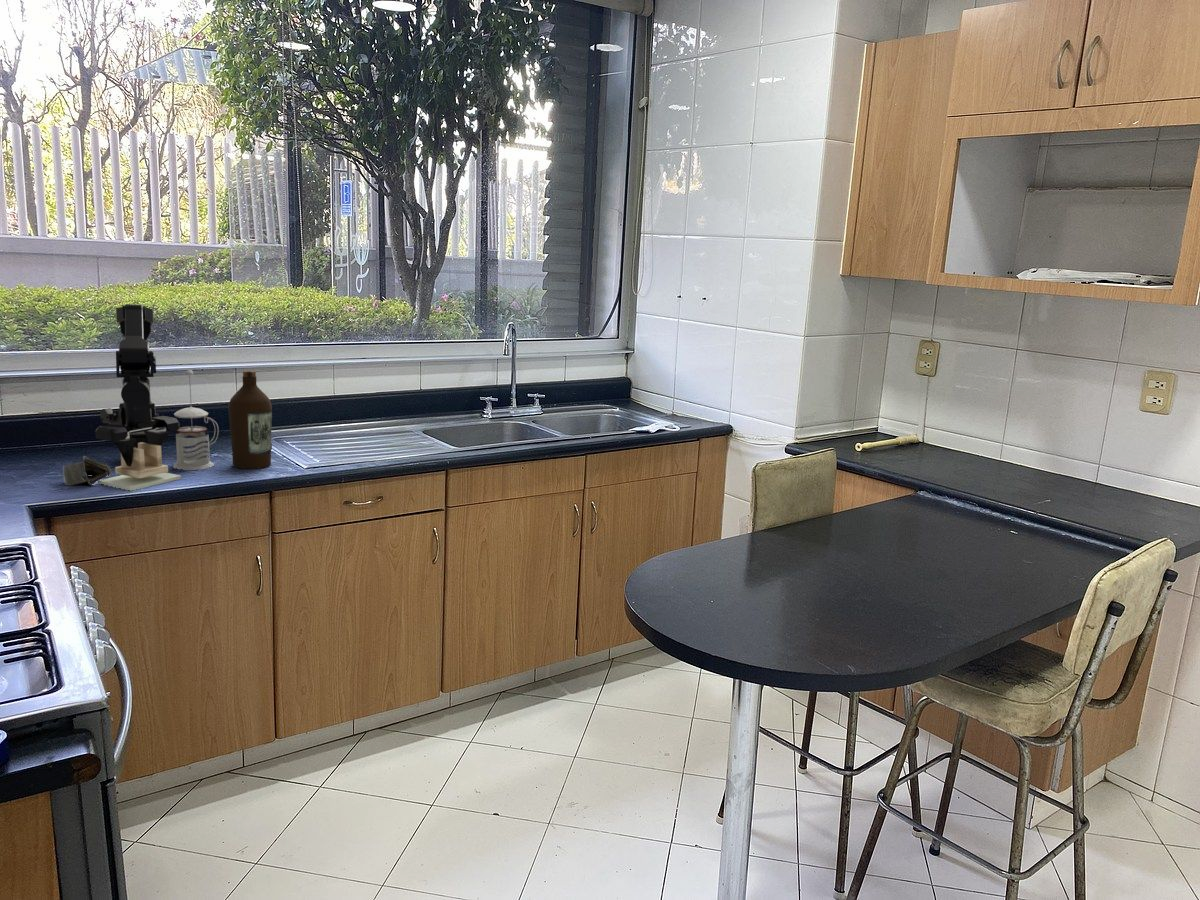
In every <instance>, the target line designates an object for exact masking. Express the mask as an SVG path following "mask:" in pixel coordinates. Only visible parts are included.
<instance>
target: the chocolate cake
mask: <svg viewBox="0 0 1200 900" xmlns="http://www.w3.org/2000/svg"><path fill="white" fill-rule="evenodd" d="M82 458H83V459H82V461H79V462H73V463H71V464H66V465H63V466H62V471H63V472H62V477H63V482H64V484H65V485H71V486H74V485H75V486H76V485H80V484H85V483H86V482H87V483H88V485H89V486H92V484H94V483H95V482H96V481H98V480H100V479H102V478H103V479H105V478H104V477H106V476H107V475H108V476H109V475H111V476H112V470H111V467H110V466H109V465H108V464H106V463H104V462H101V461H98V460H96V459H93V458H91V457H88V456H86V455H83V456H82ZM87 475H92V476H88V477H87ZM109 477H110V476H109Z"/></svg>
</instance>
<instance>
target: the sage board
mask: <svg viewBox="0 0 1200 900" xmlns="http://www.w3.org/2000/svg"><path fill="white" fill-rule="evenodd" d="M179 480H182V475H179V474H175V473H170V472H165V473H161V474H156V475H152V476H148V477H144V478H135V477H130V476H126V475H121V474H119V475H116V476H111V477H109V478H103V480H98V483H99V484H98V483H97V484H98V485H101V484H104V485H103V486H106V485H108V486H107V487H110V486H113V487H112V488H115V487H116V488H115V489H119V488H121V489H120V490H124V489H125V491H128V490H130V491H129V492H132V490H133V491H136V489H137V490H140V488H141V489H145V488H149V487H154V486H157V485H158V486H159V485H162V484H165V483H169V482H170V483H171V482H174V481H179Z"/></svg>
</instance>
